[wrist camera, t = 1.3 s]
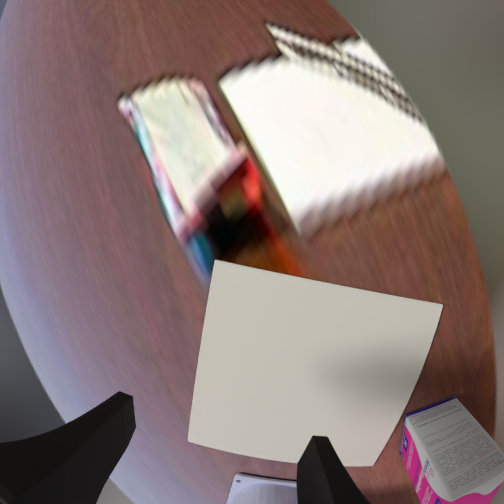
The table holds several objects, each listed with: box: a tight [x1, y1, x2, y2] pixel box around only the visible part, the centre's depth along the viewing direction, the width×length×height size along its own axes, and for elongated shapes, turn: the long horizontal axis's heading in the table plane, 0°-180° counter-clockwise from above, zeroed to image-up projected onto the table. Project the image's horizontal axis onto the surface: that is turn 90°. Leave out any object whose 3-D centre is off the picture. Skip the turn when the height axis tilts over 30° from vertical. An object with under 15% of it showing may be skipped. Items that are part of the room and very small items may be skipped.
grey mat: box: [188, 260, 443, 466], centre depth 20 cm, size 17×18×1 cm
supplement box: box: [400, 396, 504, 504], centre depth 14 cm, size 6×6×12 cm
